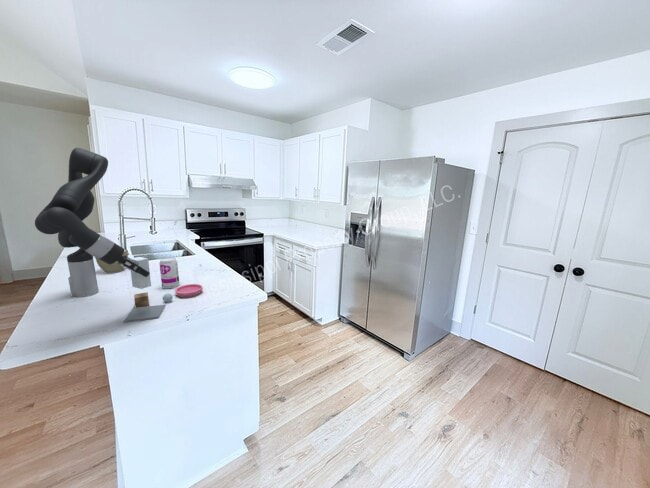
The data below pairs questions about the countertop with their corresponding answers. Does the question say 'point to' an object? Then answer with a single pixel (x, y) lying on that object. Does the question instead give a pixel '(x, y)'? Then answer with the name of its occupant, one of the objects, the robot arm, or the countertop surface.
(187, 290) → the saucer
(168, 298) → the grey ball
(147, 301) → the walnut block
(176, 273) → the supplement can
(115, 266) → the planter bowl
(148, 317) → the slate coaster
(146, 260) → the skincare box
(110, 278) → the countertop surface
